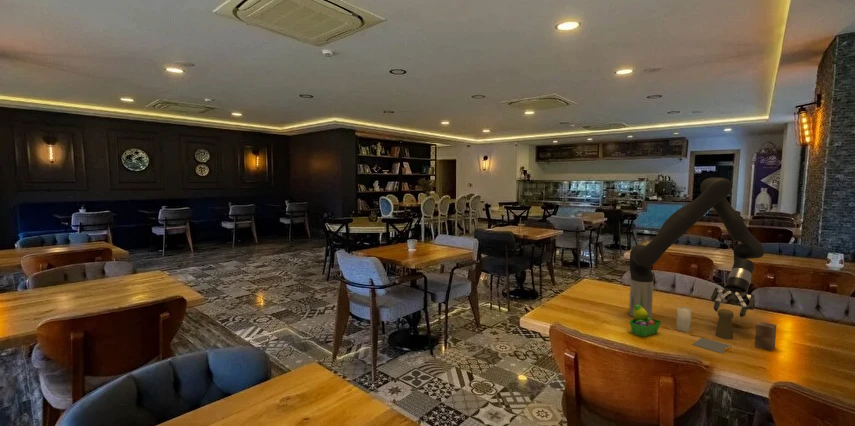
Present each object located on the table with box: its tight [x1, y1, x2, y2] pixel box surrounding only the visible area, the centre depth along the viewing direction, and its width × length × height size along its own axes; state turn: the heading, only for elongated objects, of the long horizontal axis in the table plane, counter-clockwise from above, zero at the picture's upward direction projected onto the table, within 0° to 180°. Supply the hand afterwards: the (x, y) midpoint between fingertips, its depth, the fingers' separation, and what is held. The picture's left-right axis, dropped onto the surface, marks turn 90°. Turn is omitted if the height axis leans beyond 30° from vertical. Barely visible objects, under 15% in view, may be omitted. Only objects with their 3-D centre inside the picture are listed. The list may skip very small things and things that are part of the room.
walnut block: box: [754, 321, 777, 352], centre depth 151 cm, size 5×5×9 cm
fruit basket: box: [628, 305, 662, 338], centre depth 166 cm, size 11×9×11 cm
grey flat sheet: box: [691, 337, 732, 354], centre depth 153 cm, size 10×10×1 cm
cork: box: [714, 308, 734, 340], centre depth 161 cm, size 6×6×11 cm
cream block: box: [675, 306, 692, 333], centre depth 168 cm, size 5×5×9 cm
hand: (728, 313), depth 163 cm, fingers open, 8 cm apart
